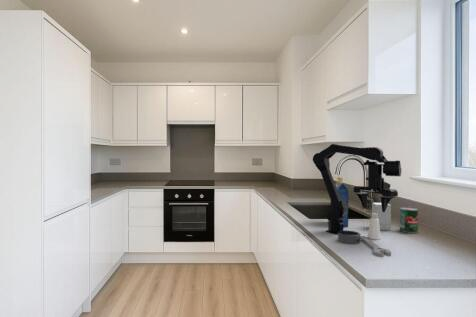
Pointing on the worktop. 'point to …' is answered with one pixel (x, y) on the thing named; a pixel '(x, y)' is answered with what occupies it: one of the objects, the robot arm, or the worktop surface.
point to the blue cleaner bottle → (342, 197)
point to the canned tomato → (408, 220)
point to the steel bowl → (349, 237)
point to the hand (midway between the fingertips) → (374, 210)
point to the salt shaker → (374, 227)
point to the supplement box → (383, 216)
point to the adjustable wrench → (375, 247)
